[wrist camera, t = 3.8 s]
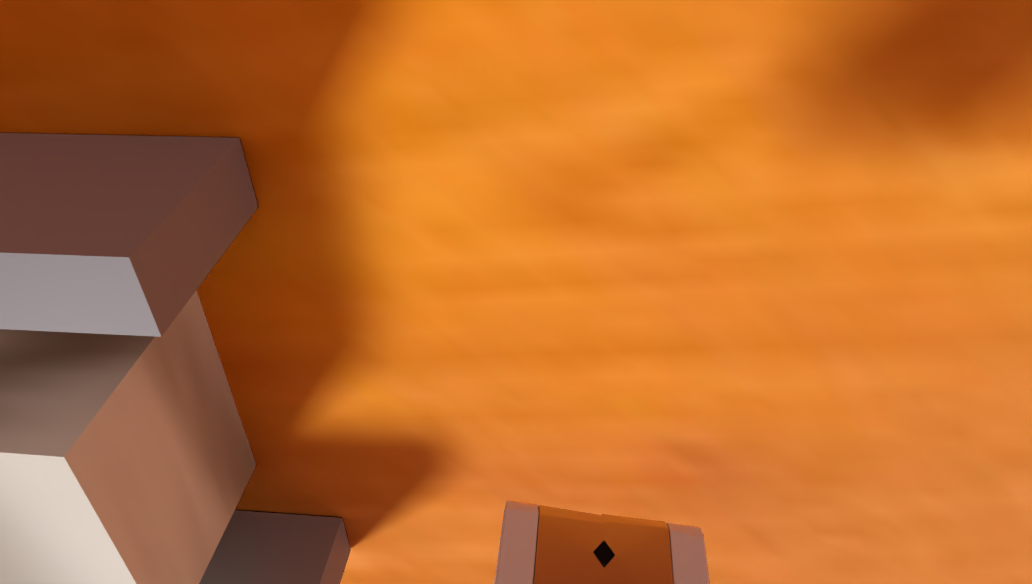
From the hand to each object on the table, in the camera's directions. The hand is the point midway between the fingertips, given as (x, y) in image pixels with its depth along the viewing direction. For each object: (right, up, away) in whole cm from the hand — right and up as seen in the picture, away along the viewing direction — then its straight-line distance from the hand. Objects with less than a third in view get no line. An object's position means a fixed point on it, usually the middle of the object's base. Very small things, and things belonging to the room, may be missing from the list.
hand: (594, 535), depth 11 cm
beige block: (-11, +2, +7) cm, 13 cm away
